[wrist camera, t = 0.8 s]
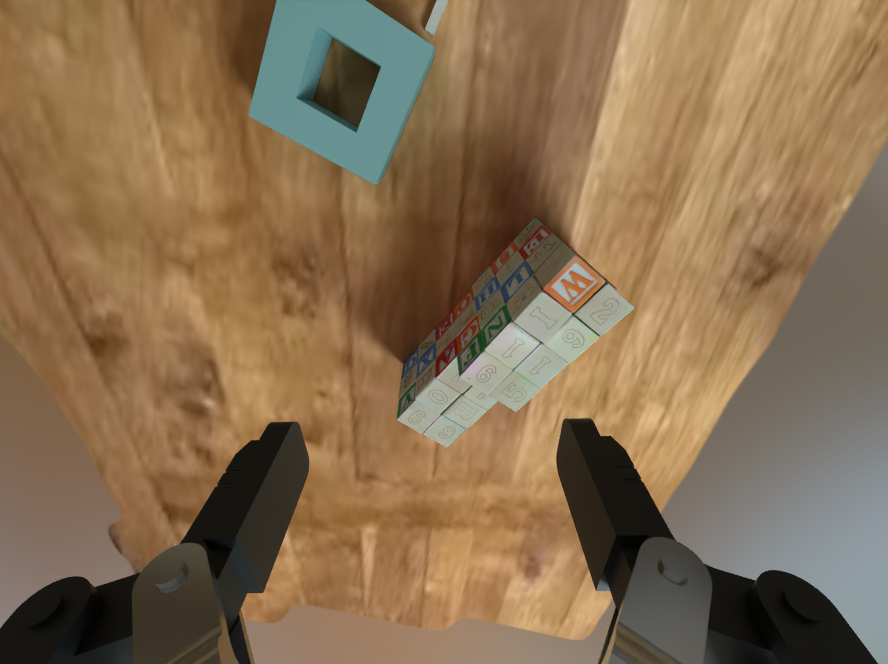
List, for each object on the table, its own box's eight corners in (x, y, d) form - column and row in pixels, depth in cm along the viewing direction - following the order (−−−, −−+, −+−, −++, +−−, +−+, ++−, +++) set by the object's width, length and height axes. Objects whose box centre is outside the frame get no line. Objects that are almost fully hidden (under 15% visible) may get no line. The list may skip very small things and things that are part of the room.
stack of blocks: (444, 390, 45) (446, 474, 34) (402, 363, 43) (389, 444, 32) (579, 254, 37) (638, 308, 26) (535, 213, 35) (578, 254, 24)
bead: (309, -28, 26) (289, -52, 23) (434, 56, 29) (434, 46, 25) (270, 116, 30) (248, 115, 27) (382, 178, 33) (375, 185, 29)
